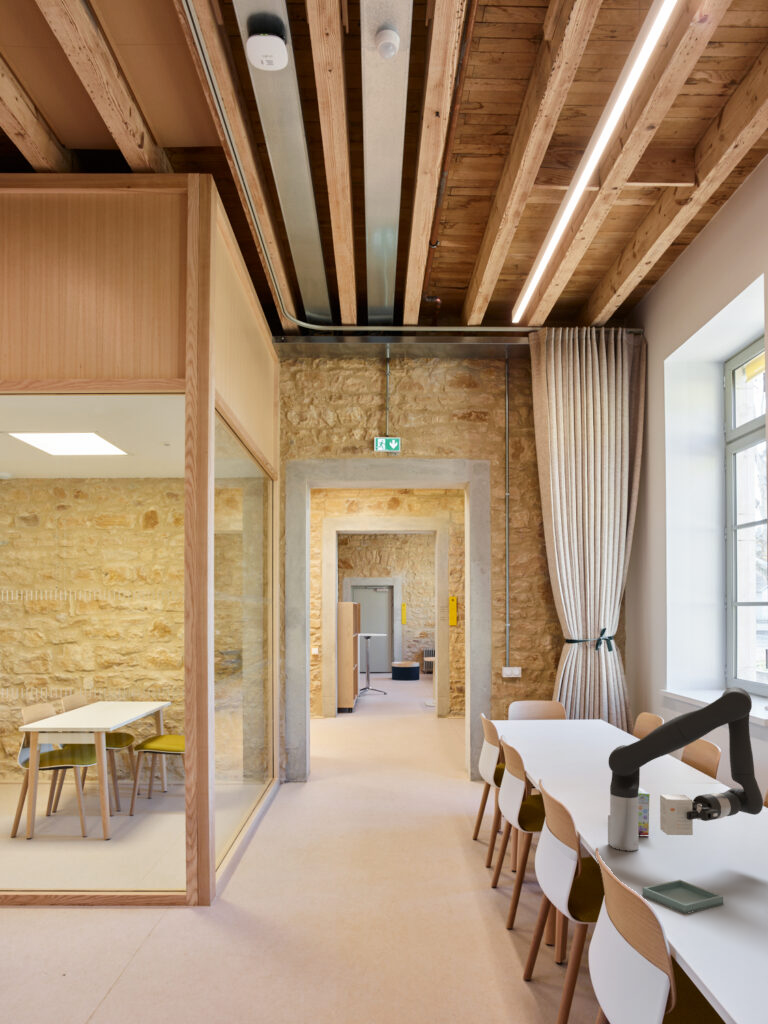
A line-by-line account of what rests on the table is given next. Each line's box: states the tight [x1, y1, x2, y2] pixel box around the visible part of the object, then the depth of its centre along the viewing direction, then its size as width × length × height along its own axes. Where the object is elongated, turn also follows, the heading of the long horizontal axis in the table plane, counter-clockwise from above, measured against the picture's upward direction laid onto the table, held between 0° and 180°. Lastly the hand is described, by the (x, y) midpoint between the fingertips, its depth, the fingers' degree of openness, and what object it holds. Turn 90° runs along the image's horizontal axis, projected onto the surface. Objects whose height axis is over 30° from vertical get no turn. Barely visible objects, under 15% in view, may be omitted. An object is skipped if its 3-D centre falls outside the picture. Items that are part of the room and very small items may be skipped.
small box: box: [659, 794, 694, 836], centre depth 243 cm, size 8×6×10 cm
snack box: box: [638, 786, 650, 835], centre depth 296 cm, size 21×6×15 cm, turn 179°
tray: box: [642, 879, 724, 914], centre depth 225 cm, size 15×16×2 cm
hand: (676, 812), depth 242 cm, fingers closed on small box, 7 cm apart
